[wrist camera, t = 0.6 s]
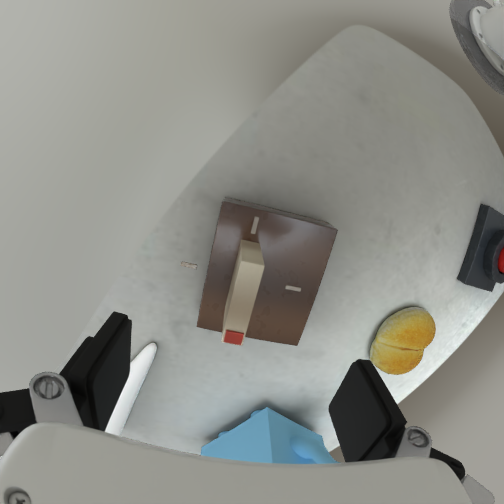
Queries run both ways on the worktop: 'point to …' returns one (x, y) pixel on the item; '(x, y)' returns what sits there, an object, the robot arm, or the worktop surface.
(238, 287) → the handle
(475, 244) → the button block
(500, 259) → the button
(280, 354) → the worktop surface
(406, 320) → the bread roll
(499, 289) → the worktop surface
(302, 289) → the panel
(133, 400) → the long cone
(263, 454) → the teapot
